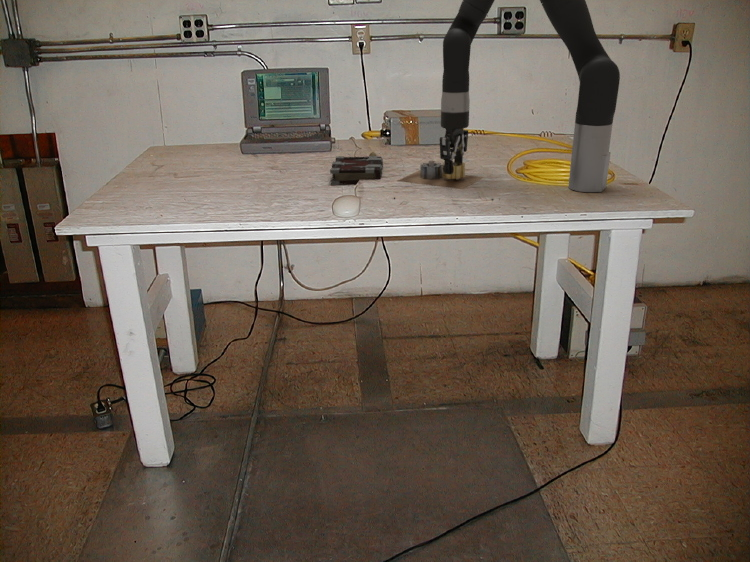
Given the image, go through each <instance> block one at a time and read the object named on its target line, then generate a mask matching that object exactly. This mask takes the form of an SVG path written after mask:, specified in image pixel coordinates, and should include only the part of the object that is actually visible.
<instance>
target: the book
mask: <svg viewBox="0 0 750 562" xmlns="http://www.w3.org/2000/svg"><path fill="white" fill-rule="evenodd" d="M383 170H384V158H383V157H382V156H378V155H377V154H376V153H375V152H374V151H372V152H370V153H369V156H345V155H344V156H341V155H338V156H337V155H336V156H335V161H332V164H331V167H330V169H329V173H330V175H331V174H332V178H331V180H330V186H340V185H357V184H358V183H359V181H360V180H361V179H362V180H363V179H365V180H367V179H375V180H381V178H383Z"/></svg>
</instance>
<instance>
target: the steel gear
mask: <svg viewBox="0 0 750 562" xmlns="http://www.w3.org/2000/svg"><path fill="white" fill-rule="evenodd" d="M419 165H420V167H419V170H420V177H422V179H429V180H432V179H440V177H442V174H443V163H441V162H434V166H429V162H422V163H421V164H419Z"/></svg>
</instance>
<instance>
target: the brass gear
mask: <svg viewBox="0 0 750 562" xmlns="http://www.w3.org/2000/svg"><path fill="white" fill-rule="evenodd" d="M453 163H456V165H453V173H452V174H445V173H444V162H443V163H442V164H443V178H448V179H459V178H464V177H465V175H466V173H465V172H466V162H463V163H461V162H454V161H453Z"/></svg>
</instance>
